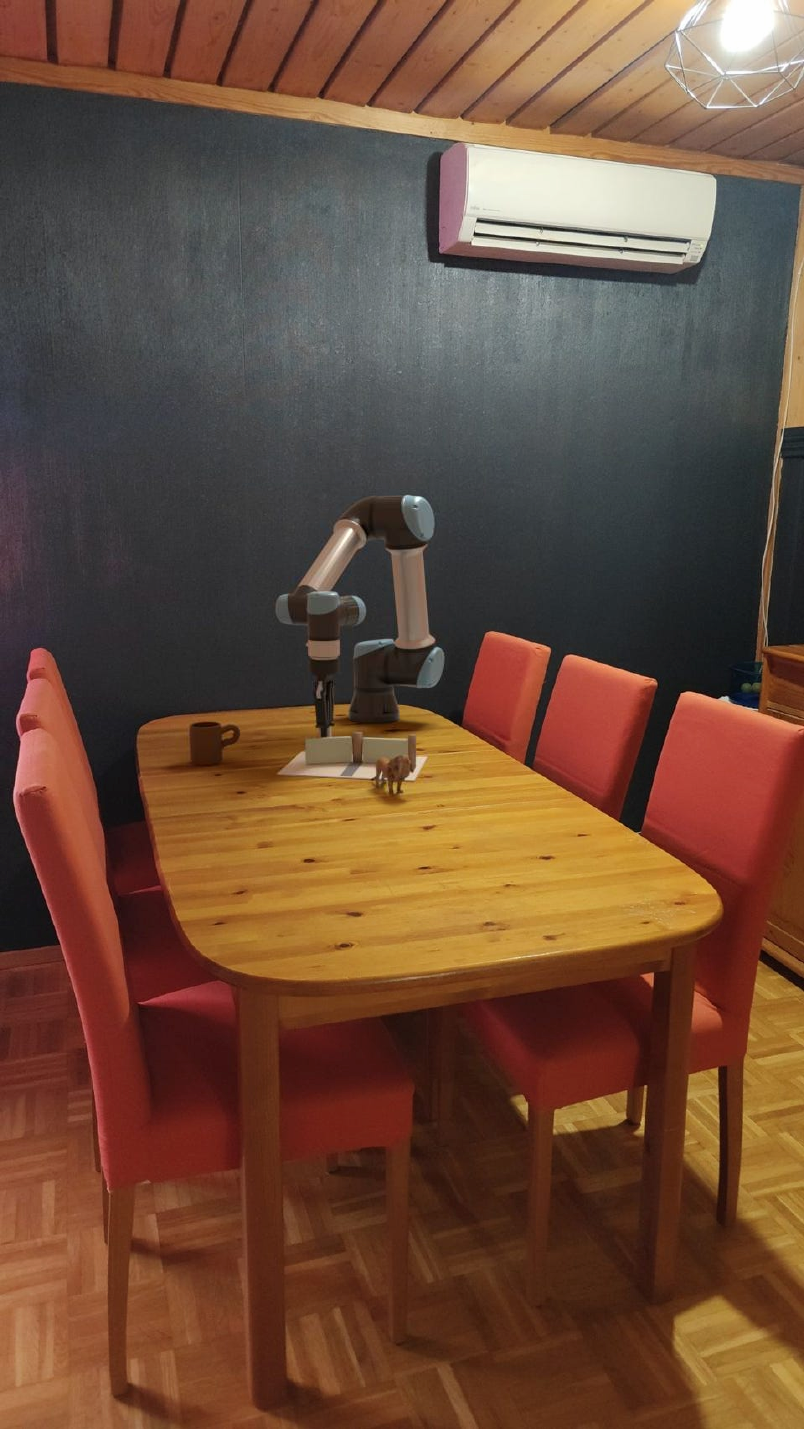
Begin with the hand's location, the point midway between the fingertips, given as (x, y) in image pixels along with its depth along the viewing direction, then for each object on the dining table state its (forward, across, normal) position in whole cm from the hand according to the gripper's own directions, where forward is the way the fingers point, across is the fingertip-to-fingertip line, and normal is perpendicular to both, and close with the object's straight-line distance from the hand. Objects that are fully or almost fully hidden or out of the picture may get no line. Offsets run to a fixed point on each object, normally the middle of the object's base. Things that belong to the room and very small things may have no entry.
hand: (325, 753), depth 233 cm
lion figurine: (+2, +22, +20) cm, 30 cm away
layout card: (+2, +3, +8) cm, 9 cm away
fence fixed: (+2, 0, +14) cm, 15 cm away
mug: (+2, +5, -26) cm, 27 cm away
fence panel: (+1, +3, +1) cm, 3 cm away
